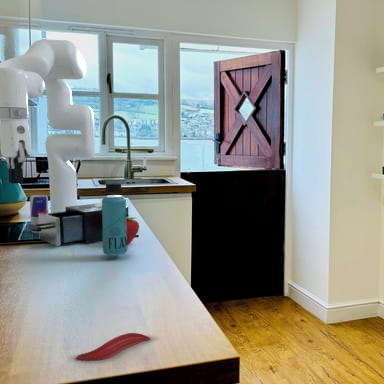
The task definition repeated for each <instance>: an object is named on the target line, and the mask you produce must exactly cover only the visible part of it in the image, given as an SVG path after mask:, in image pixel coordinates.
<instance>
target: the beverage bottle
mask: <svg viewBox="0 0 384 384" xmlns="http://www.w3.org/2000/svg"><path fill="white" fill-rule="evenodd" d="M122 191H123V188H122V183H120V182H108V183H106V184H105V192H106V193H107V192H108V193H119V192H122ZM101 203H102V219H103V238H102V253H103V254H104V255H106V256H119V255H121V256H122V255H125V254H126V253H127V251H128V245H127V228H126V222H127V221H126V216H127V214H126V206H127V199H126V198H125V197H124V196H123V195H122V194H121V195H120V194H110V195H106V196H104V198H102V200H101Z"/></svg>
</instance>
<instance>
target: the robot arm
mask: <svg viewBox="0 0 384 384" xmlns="http://www.w3.org/2000/svg"><path fill="white" fill-rule="evenodd" d="M86 72H87V65H86V62H85V58H84V57H83V55H82V53H81V52H80V50H79V49H78V47H77V45H75V44H74V43H73V42H72V41H70V40H67V39H38V40H36V41H34V42H33V43H32V44H31V46H30V47H29V48H28V49H27V50H26V52H25V53H24V54H21V55H17V56H15V57H12V58H9V59H5V60H3V61H1V62H0V154H1V156H3V157H4V158H5V161H6V163H7V169H8V172H7V173H8V183H9V184H12V185H13V184H15V185H17V184H23V183H24V170H23V169H24V163H25V162H26V158H30V157H31V156H32V155H33V154H32V153H33V152H32V140H31V131H30V126H29V100H30V99H37V98H39V97H41V96H42V95H43V94H44V92H46V106H47V119H48V120H47V121H48V124H49V127H50V128H51V129H53V130H58V131H79V132H80V133H53V134H50V135H48V136H47V138H46V139H45V142H44V145H45V152H46V156H47V157H46V158H47V163H48V171H49V172H48V178H49V202H50V204H49V205H50V206H49V210H50V213H55V212H63V211H65V210H66V209H65V207H70V206H78V185H77V184H78V183H77V181H78V180H77V170H76V168H75V167H74V165H73V164H72V163H71V162H70V161H72V160H74V161H75V160H78V161H79V160H81V161H83V160H91V159H93V158H94V157H95V155H96V134H95V132H96V131H95V130H96V129H95V117H94V112H93V111H94V110H93V109H92V108H91V106H90V105H89V104H88V105H87V104H84V103H82V104H81V103H73V96H72V94H73V93H72V88H71V87H70V86H69V84H68V83H67V82H66V80H75V81H76V80H82V79H83V78H84V77H85V76H86V74H87V73H86Z"/></svg>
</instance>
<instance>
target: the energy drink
mask: <svg viewBox="0 0 384 384" xmlns="http://www.w3.org/2000/svg"><path fill="white" fill-rule="evenodd" d="M29 204H30V205H29V207H30V208H29V209H30V211H29V212H30V224H33V225H36V224H39V213H44V214H47V215H48V213H49V198H48V195H47V194H32V195H30V197H29ZM30 230H31V233H32V234H37V235H38V234H39V232H38V231H35V230H32V229H30Z"/></svg>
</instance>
